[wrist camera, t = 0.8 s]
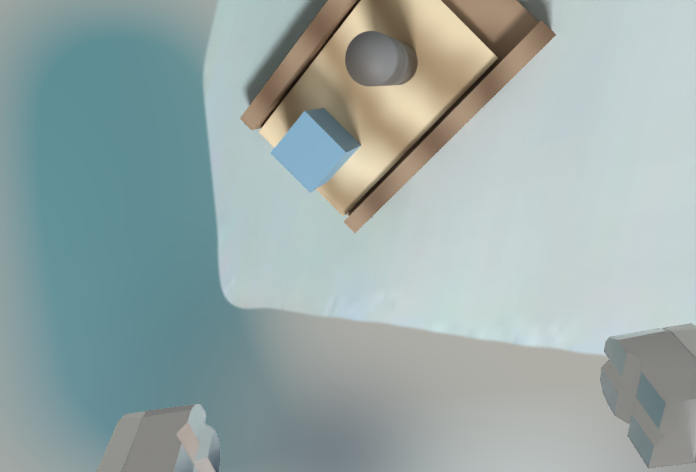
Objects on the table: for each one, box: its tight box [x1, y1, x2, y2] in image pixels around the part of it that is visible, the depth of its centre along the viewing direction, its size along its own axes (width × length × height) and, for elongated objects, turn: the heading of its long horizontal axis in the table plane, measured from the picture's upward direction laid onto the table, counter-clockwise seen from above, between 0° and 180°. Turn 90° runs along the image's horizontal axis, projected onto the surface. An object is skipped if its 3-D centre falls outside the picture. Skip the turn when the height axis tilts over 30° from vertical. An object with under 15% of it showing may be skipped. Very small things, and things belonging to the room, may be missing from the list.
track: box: [240, 0, 556, 233], centre depth 43 cm, size 24×16×3 cm, turn 138°
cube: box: [271, 108, 361, 192], centre depth 43 cm, size 5×5×5 cm
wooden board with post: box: [259, 0, 498, 216], centre depth 39 cm, size 20×12×11 cm, turn 138°
